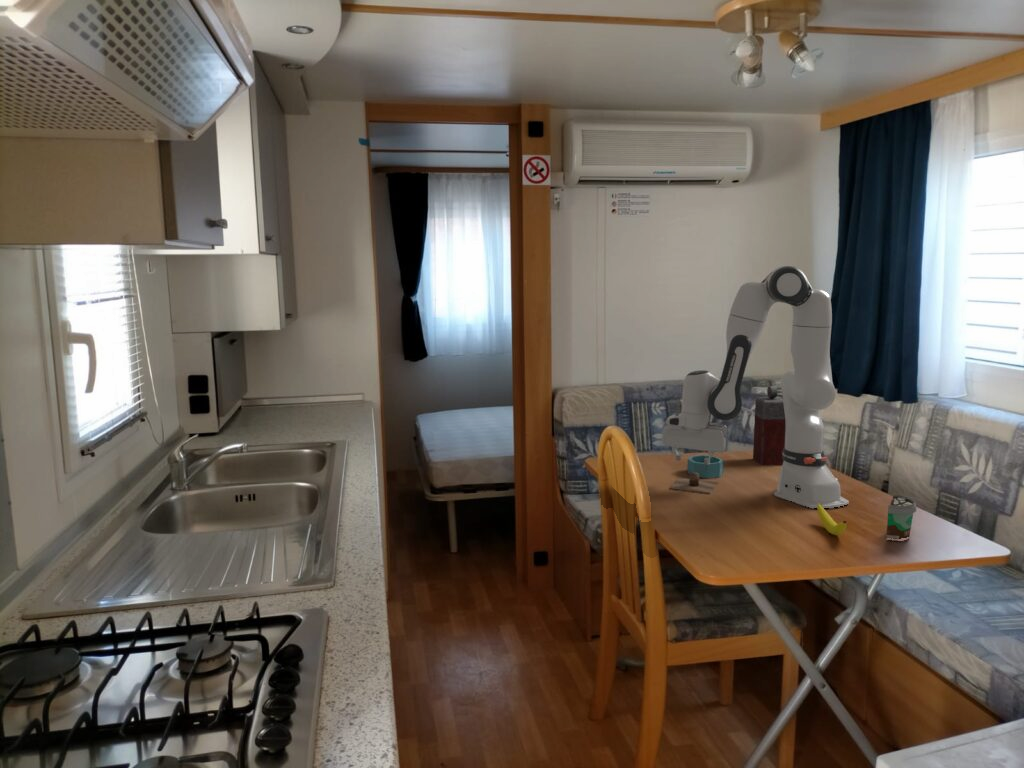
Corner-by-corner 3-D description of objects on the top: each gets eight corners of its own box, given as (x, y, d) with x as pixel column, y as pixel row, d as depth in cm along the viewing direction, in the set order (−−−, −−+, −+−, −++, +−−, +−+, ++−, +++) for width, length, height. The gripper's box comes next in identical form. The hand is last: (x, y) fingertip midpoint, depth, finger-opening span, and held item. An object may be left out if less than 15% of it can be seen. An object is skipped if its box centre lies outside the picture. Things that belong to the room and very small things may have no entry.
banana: (822, 519, 213) (824, 498, 212) (849, 544, 194) (851, 521, 193) (812, 519, 213) (813, 498, 212) (838, 544, 195) (839, 521, 193)
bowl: (727, 476, 256) (728, 462, 255) (698, 479, 253) (699, 464, 252) (710, 468, 267) (711, 454, 266) (682, 470, 264) (682, 456, 263)
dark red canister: (792, 465, 270) (796, 388, 265) (761, 465, 270) (764, 388, 265) (782, 458, 279) (786, 383, 274) (752, 458, 278) (755, 384, 274)
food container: (912, 546, 193) (915, 509, 191) (885, 542, 196) (888, 505, 194) (916, 532, 203) (918, 496, 201) (890, 528, 206) (893, 492, 205)
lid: (710, 496, 237) (710, 480, 236) (669, 491, 243) (669, 476, 242) (717, 485, 249) (718, 470, 248) (678, 480, 254) (679, 466, 253)
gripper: (729, 422, 241) (726, 464, 243) (666, 415, 249) (664, 455, 252) (726, 426, 235) (723, 469, 237) (661, 418, 244) (659, 460, 246)
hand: (692, 462), depth 244 cm, fingers open, 8 cm apart
